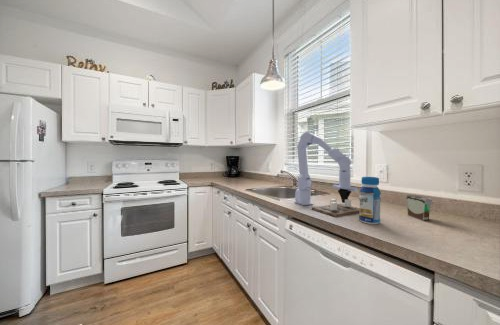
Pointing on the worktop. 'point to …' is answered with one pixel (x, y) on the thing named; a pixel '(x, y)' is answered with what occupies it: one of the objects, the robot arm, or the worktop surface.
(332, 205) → the knob
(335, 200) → the knob
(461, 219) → the worktop surface
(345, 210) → the switch board
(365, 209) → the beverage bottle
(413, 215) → the food container
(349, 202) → the knob
